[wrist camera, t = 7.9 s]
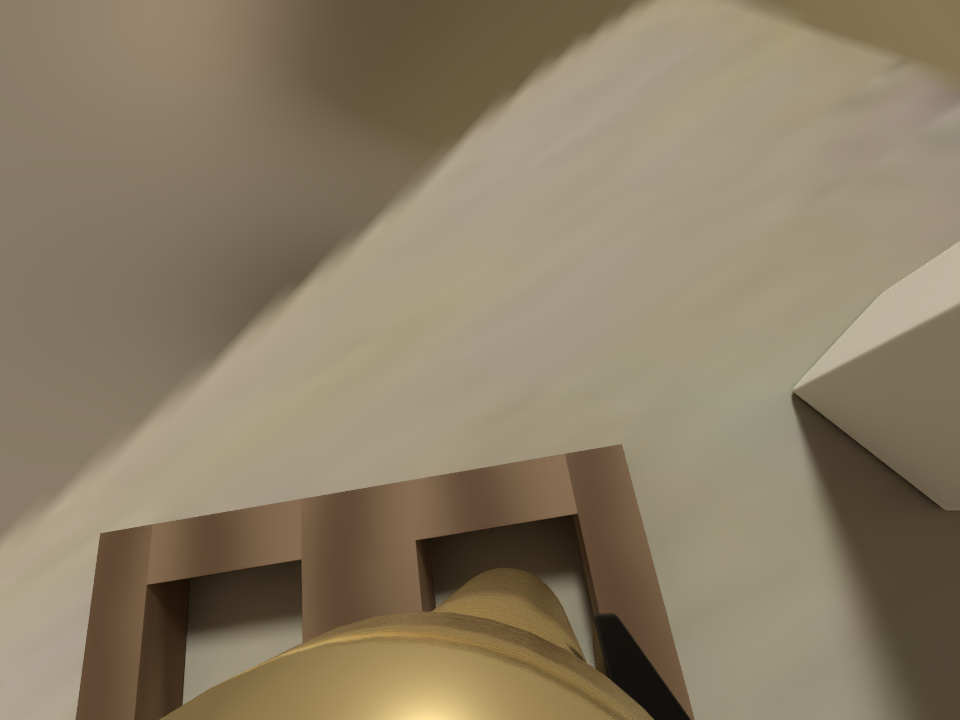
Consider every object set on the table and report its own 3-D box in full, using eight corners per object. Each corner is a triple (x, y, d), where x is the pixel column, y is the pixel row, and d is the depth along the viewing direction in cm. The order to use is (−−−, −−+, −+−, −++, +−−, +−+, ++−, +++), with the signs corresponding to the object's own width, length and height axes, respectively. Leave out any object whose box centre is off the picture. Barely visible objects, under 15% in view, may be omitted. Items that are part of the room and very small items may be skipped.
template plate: (611, 453, 21) (621, 444, 18) (687, 751, 17) (712, 787, 15) (146, 532, 22) (100, 533, 19) (116, 833, 18) (54, 879, 15)
